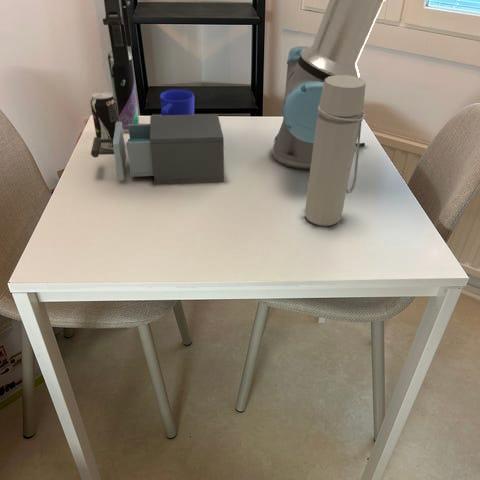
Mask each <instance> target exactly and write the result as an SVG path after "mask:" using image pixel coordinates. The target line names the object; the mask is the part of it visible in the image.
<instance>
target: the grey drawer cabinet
mask: <svg viewBox="0 0 480 480" xmlns="http://www.w3.org/2000/svg"><path fill="white" fill-rule="evenodd" d="M149 117H150V119H149V120H150V121H149V124H150V145H151V154H152V163H153V173H154V176H153V180H154V185H175V184H198V183H200V184H202V183H222V182H225V179H224V175H225V173H224V171H225V170H224V167H225V166H224V163H225V162H224V161H225V160H224V158H225V157H224V155H225V154H224V153H225V151H224V148H225V146H224V143H225V140H224V134H223V129H222V125H221V122H220V121H221V120H220V118H219V114H218V113H208V114H207V113H206V114H205V113H203V114H194V115H161V114H160V115H159V114H158V115H150V116H149Z"/></svg>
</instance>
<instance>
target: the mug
mask: <svg viewBox="0 0 480 480" xmlns="http://www.w3.org/2000/svg"><path fill="white" fill-rule="evenodd" d="M159 100H160V105H161V106H160V107H161V110H160V115H195V93H193V92H192V91H190V90H186V89H169V90H165V91H163V92H160V95H159Z"/></svg>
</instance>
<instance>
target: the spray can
mask: <svg viewBox="0 0 480 480" xmlns="http://www.w3.org/2000/svg"><path fill="white" fill-rule="evenodd" d="M128 54H129V62H130V66H118V67H114V60H113V54H112V49H110V51H108V52H107V60H108V62H107V63H108V70H109V76H110V83H111V89H112V96H113V97H114V99H115V100H116V104H117V110H118V117H119V122H122V128H123V133H129V129H128V124H140V116H139V108H138V100H137V91H136V83H135V76H134V75H135V73H134V68H133V67H134V66H133V58H132V53H131V52H130V51H129V50H128Z"/></svg>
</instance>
